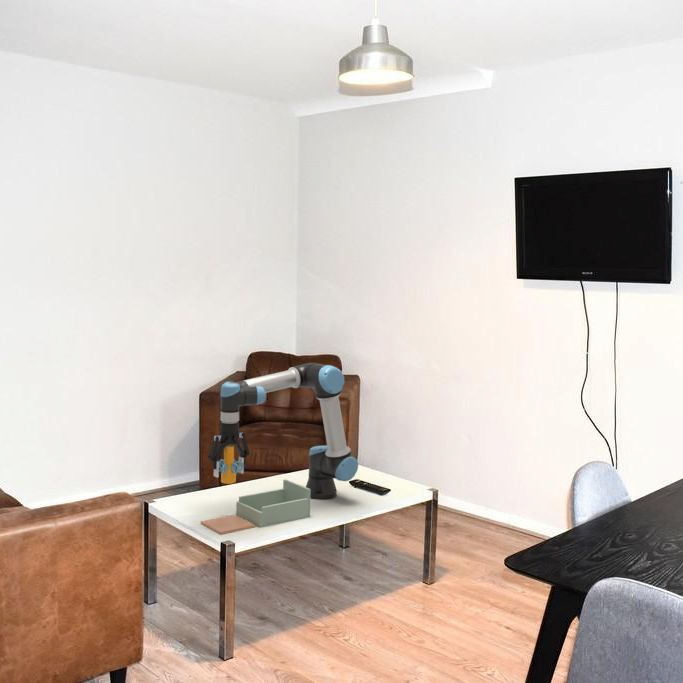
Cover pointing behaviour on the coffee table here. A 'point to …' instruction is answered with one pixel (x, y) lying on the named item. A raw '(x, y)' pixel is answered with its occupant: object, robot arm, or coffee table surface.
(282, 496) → the box
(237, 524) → the terracotta tile
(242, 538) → the coffee table surface
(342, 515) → the coffee table surface
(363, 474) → the coffee table surface
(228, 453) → the orange tube
